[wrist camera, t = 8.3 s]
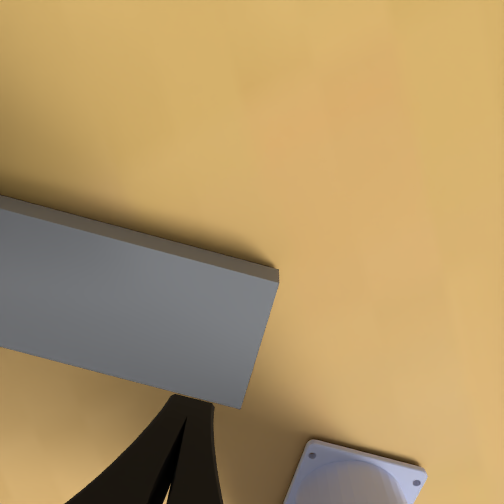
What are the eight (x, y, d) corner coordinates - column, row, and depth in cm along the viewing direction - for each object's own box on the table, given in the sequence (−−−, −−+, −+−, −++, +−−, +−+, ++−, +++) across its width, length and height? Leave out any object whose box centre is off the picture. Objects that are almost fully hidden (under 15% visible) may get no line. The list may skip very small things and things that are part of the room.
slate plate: (243, 386, 22) (240, 409, 20) (-40, 312, 21) (-71, 328, 19) (278, 269, 19) (279, 283, 17) (-40, 184, 19) (-75, 188, 17)
